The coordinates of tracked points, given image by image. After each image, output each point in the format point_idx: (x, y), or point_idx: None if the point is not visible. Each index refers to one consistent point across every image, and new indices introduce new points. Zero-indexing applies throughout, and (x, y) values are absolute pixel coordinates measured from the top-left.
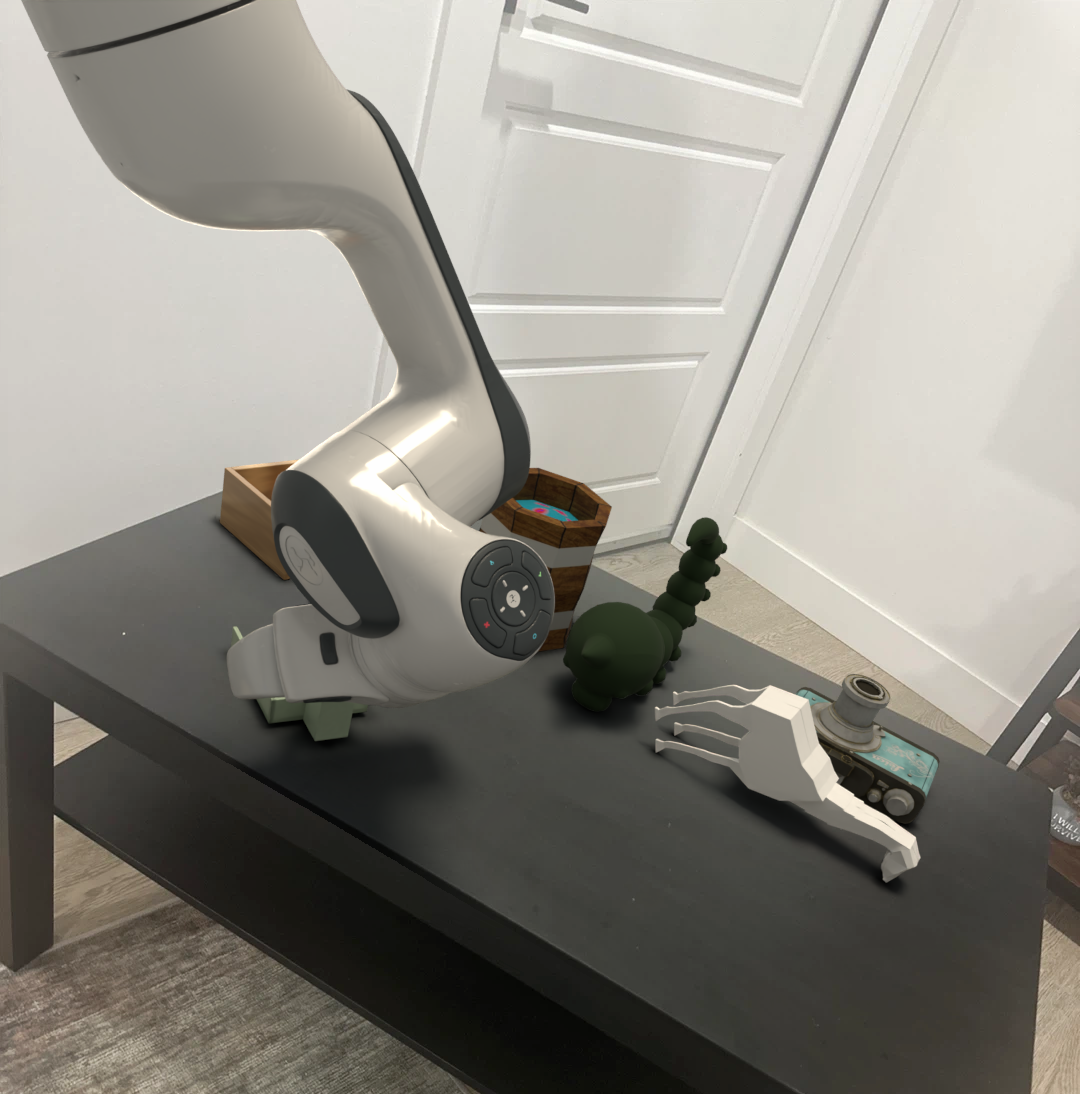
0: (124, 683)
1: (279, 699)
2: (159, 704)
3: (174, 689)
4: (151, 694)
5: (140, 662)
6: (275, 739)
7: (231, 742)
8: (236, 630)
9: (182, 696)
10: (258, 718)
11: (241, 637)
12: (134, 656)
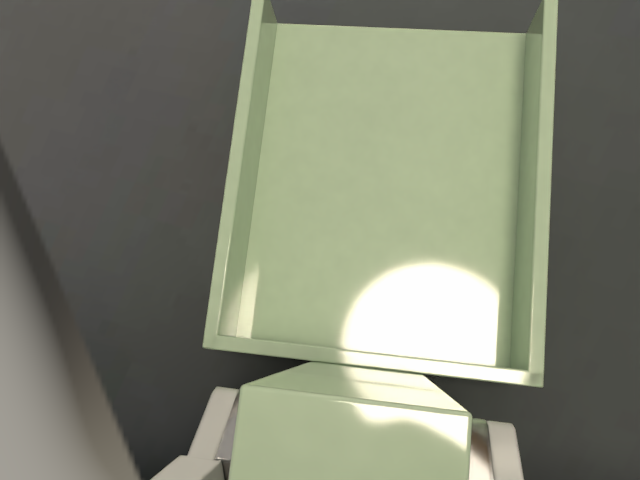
0: (5, 101)
1: (226, 348)
2: (40, 189)
3: (92, 145)
4: (39, 151)
5: (66, 36)
6: None
7: (126, 370)
8: (255, 4)
9: (97, 174)
10: None
11: (254, 38)
12: (64, 13)
